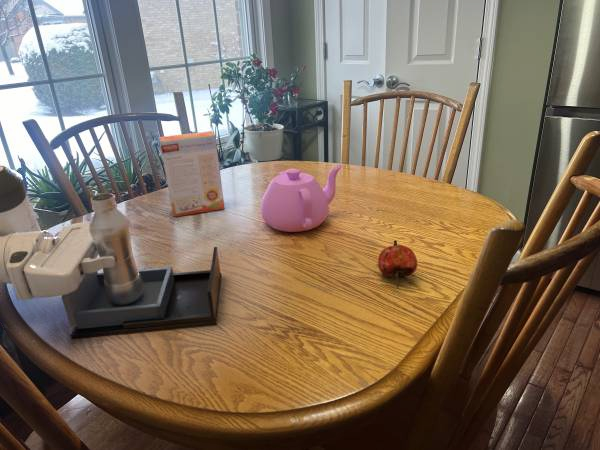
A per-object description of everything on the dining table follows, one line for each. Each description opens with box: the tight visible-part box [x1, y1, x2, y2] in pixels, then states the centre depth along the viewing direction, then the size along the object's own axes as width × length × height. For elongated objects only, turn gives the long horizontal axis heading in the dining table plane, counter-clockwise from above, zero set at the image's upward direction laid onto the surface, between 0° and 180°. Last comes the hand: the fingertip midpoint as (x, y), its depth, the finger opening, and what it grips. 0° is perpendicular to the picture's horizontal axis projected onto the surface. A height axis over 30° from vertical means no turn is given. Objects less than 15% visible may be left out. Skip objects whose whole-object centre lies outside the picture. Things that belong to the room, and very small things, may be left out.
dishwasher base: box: [70, 246, 222, 340], centre depth 79 cm, size 24×16×7 cm
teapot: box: [260, 164, 344, 233], centre depth 109 cm, size 22×22×14 cm
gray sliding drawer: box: [61, 266, 174, 329], centre depth 78 cm, size 15×13×7 cm
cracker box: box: [159, 130, 225, 218], centre depth 117 cm, size 14×6×21 cm, turn 108°
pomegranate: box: [377, 239, 418, 290], centre depth 84 cm, size 7×7×10 cm
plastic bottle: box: [89, 192, 143, 305], centre depth 76 cm, size 6×7×20 cm
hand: (120, 250), depth 76 cm, fingers closed on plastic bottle, 5 cm apart
